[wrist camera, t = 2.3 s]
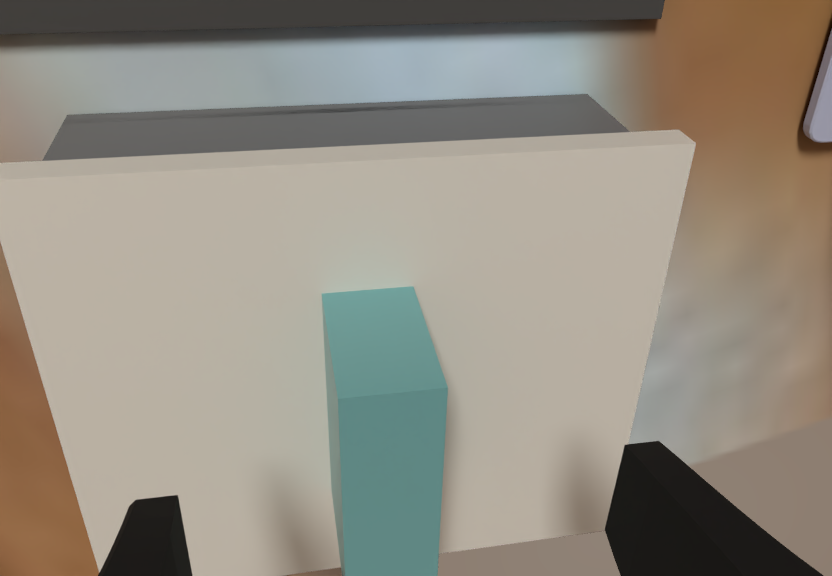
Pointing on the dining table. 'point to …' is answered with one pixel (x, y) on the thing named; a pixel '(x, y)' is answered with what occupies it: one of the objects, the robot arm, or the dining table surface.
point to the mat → (298, 13)
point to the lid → (347, 339)
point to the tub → (326, 126)
